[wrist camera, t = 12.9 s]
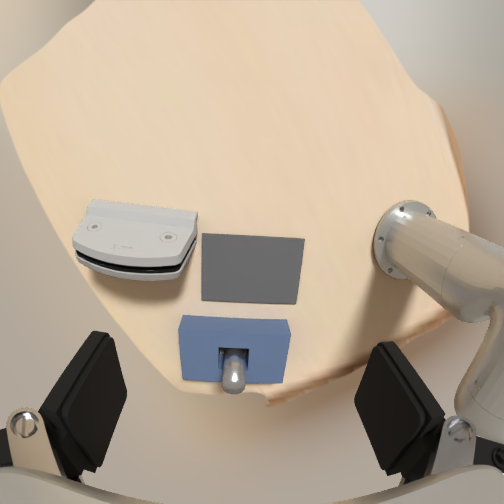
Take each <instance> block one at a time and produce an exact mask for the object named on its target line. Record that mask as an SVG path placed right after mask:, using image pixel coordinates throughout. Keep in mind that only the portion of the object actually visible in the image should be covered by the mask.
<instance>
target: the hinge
mask: <svg viewBox="0 0 504 504" xmlns="http://www.w3.org/2000/svg"><path fill="white" fill-rule="evenodd" d="M197 216H198V212H195V211H187V210H180V209H172V208H164V207H157V206H148V205H140V204H132V203H123V202H114V201H105V200H96V199H93V200H92V201H91V202H90V203H89V205H88V207H87V211H86V215H85V217H84V219H83V220H82V222H81V223H80V225H79V227H78V228H77V230H76V232H75V233H74V235H73V248H74V249H76V251H75V256H76V258H77V259H78V261H79V262H80V263H81V264H83V265H84V266H86V267H88V268H90V269H92V270H95V271H97V272H100V273H103V274H105V275H109V276H113V277H118V278H123V279H130V280H143V281H158V280H171V279H176V278H178V277H179V276H180V275H181V273H182V271H183V269H184V267H185V265H186V263H187V261H188V259H189V257H190V255H191V253H192V251H193V249H194V247H195V245H196V242H197V240H195V239H194V238H195V236H196V234H197V225H196V219H197Z"/></svg>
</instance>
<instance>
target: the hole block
mask: <svg viewBox="0 0 504 504" xmlns="http://www.w3.org/2000/svg"><path fill="white" fill-rule="evenodd" d="M178 331H179V344H180V355H181V366H182V376H183V379H185V380H197V381H210V382H223V367H224V354H220V347H223V348H247V355H244V373H245V383H282V382H283V377H284V371H285V366H286V360H287V354H288V348H289V343H290V337H291V333H290V329H289V325H288V322H287V320H278V319H244V318H222V317H205V316H190V315H183V316H182V319H181V323H180V326H179V329H178Z"/></svg>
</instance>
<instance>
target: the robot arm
mask: <svg viewBox="0 0 504 504" xmlns="http://www.w3.org/2000/svg"><path fill="white" fill-rule="evenodd" d="M379 238H380V239H379ZM374 255H375V258H376V261H377V263H378V265H379V266H380V268H381V269H382V270H383V271H384V272H385V273H386V274H387V275H389V276H391V277H393V278H396V279H410V280H411V281H412V282H413V283H415V284H416V285H417V286H418V287H419V288H421V289H422V290H423V291H424V292H425V293H427V294H428V295H429V296H430V297H431V298H433V299H434V300H435V301H436V302H437V303H438V304H440V305H441V306H442V307H443V308H444V309H445V310H447V311H448V312H449V313H450V314H451V315H453V316H454V317H455V318H457V319H458V320H460V321H463V322H467V323H477V322H482V321H486V320H489V319H490V324H489V327H488V330H487V332H486V334H485V336H484V340H483V342H482V344H481V345H480V347H479V349H478V351H477V353H476V355H475V357H474V359H473V361H472V362H471V364H470V366H469V368H468V370H467V372H466V373H465V375H464V377H463V379H462V380H461V382H460V384H459V386H458V388H457V391H456V394H455V399H454V407H455V411H456V414H457V416H451V417H449V418H448V419H447V420H445V418H444V415H445V413H444V411H443V410H442V408H441V407H440V405H439V404H438V402H437V401H436V399H435V398H434V396H433V395H432V393H431V392H430V391H429V389H428V388H427V386H426V385H425V383H424V382H423V381H422V379H421V378H420V376H419V375H418V374H417V372H416V371H415V369H414V368H413V367H412V365H411V364H410V362H409V361H408V360H407V358H406V357H405V356H404V354H403V353H402V352H401V350H400V349H399V348H398V346H397V345H396V344H395V343H394V342H393V341H390V342H380V343H378V344H377V346H376V347H374V348H373V350H372V353H371V356H370V358H369V361H368V364H367V367H366V370H365V372H364V375H363V377H362V380H361V382H360V385H359V387H358V390H357V393H356V395H355V399H354V403H355V406H356V409H357V411H358V413H359V416H360V418H361V420H362V423H363V425H364V428H365V430H366V432H367V435H368V437H369V440H370V442H371V445H372V447H373V450H374V452H375V455H376V457H377V460H378V462H379V465H380V467H381V469H382V470H385V471H386V474H387V476H389V475H393V474H396V473H399V472H401V475H402V479H401V481H400V484H399V486H398V487H395V488H392V489H388V490H384V491H381V492H377V493H374V494H370V495H366V496H362V497H358V498H353V499H349V500H344V501H339V502H333V503H328V504H504V248H503V247H501V246H499V245H496V244H494V243H492V242H490V241H487V240H485V239H483V238H480V237H478V236H476V235H474V234H471V233H469V232H467V231H464V230H462V229H460V228H457V227H455V226H453V225H450V224H448V223H445V222H443V221H440V220H438V219H437V218H436V216H435V214H434V213H433V211H432V210H431V209H430V208H429V207H428V206H427V205H425V204H423V203H421V202H418V201H413V200H408V201H403V202H400V203H398V204H396V205H394V206H393V207H391V208H390V209H389V210H388V211H387V212H386V213H385V214H384V216H383V217H382V219H381V220H380V222H379V224H378V227H377V229H376V232H375V237H374ZM126 398H127V389H126V386H125V382H124V379H123V375H122V371H121V367H120V363H119V360H118V355H117V351H116V347H115V342H114V339H113V338H111V337H110V335H109V334H108V333H104V332H99V331H93V332H91V334H90V335H89V337H88V338H87V339H86V340H85V342H84V343H83V345H82V346H81V347H80V349H79V350H78V352H77V353H76V355H75V356H74V358H73V359H72V360H71V362H70V363H69V365H68V366H67V367H66V369H65V370H64V372H63V373H62V375H61V377H60V378H59V379H58V381H57V382H56V384H55V386H54V387H53V389H52V390H51V392H50V393H49V395H48V397H47V398H46V400H45V401H44V403H43V404H42V406H41V407H40V409H39V411H38V412H37V411H36V410H34V409H32V408H21V409H18V410H16V411H14V412H13V413H11V415H10V416H9V417H8V420H7V423H6V424H7V425H6V428H5V429H1V430H0V504H162V503H155V502H151V501H146V500H141V499H136V498H132V497H127V496H123V495H120V494H116V493H112V492H108V491H105V490H101V489H97V488H94V487H91V486H88V485H85V483H84V481H83V479H82V476H81V475H82V472H83V470H87V471H90V472H93V473H95V472H96V469H97V467H101V466H102V464H103V461H104V458H105V455H106V452H107V449H108V446H109V444H110V441H111V438H112V435H113V432H114V429H115V427H116V424H117V421H118V419H119V416H120V414H121V411H122V408H123V406H124V403H125V401H126ZM476 435H478V436H480V437H478V436H476ZM481 437H482V438H481Z"/></svg>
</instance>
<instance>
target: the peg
mask: <svg viewBox="0 0 504 504" xmlns="http://www.w3.org/2000/svg"><path fill="white" fill-rule="evenodd" d="M222 388H223V390H224V391H225V392H227V393H229V394H239V393H241V392H242V391H243V390H244V389H245V373H244V348H225V351H224V367H223V383H222Z"/></svg>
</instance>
